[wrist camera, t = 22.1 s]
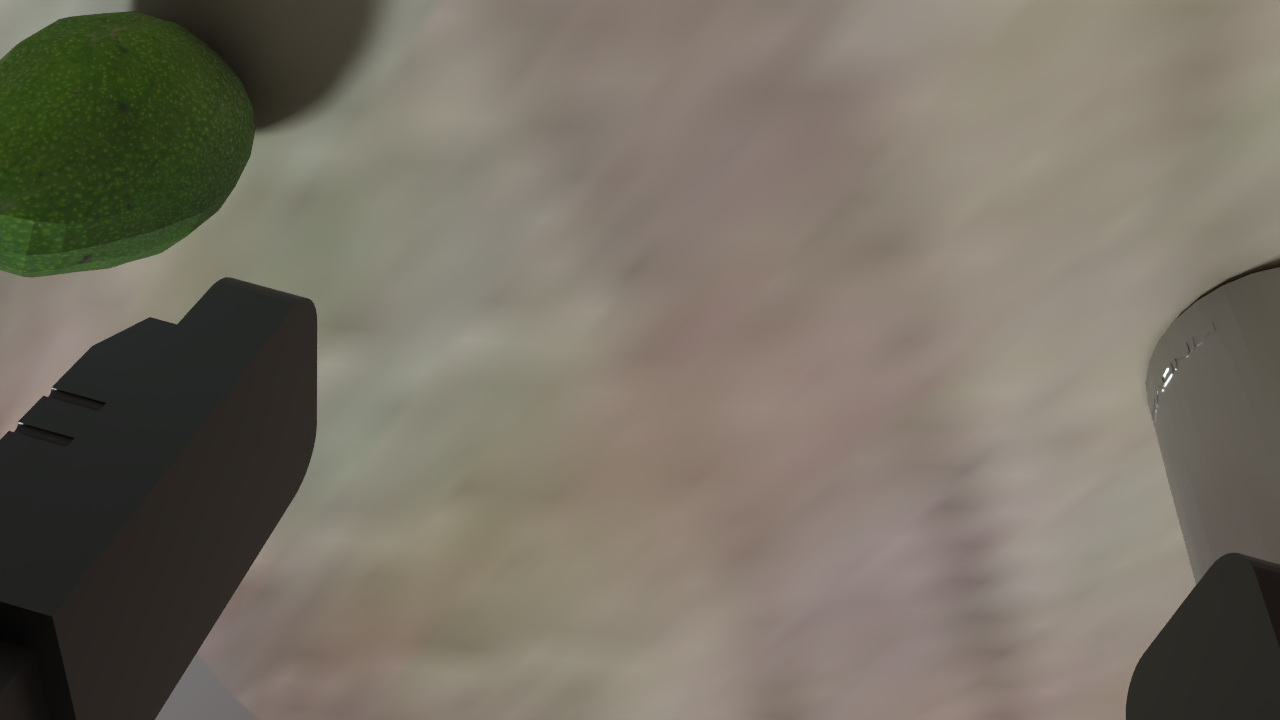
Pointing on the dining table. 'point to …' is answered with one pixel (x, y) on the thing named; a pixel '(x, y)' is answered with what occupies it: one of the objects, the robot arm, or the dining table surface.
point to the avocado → (114, 142)
